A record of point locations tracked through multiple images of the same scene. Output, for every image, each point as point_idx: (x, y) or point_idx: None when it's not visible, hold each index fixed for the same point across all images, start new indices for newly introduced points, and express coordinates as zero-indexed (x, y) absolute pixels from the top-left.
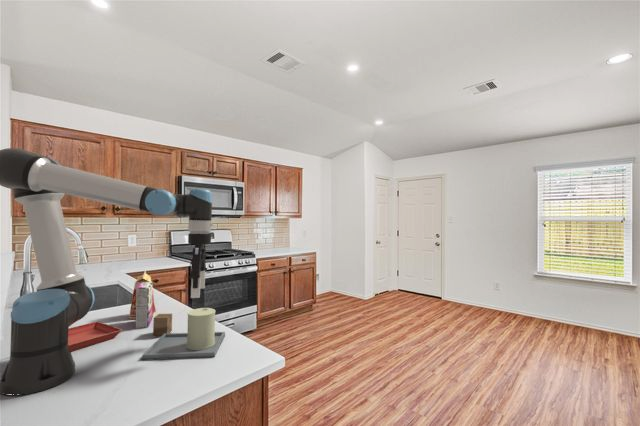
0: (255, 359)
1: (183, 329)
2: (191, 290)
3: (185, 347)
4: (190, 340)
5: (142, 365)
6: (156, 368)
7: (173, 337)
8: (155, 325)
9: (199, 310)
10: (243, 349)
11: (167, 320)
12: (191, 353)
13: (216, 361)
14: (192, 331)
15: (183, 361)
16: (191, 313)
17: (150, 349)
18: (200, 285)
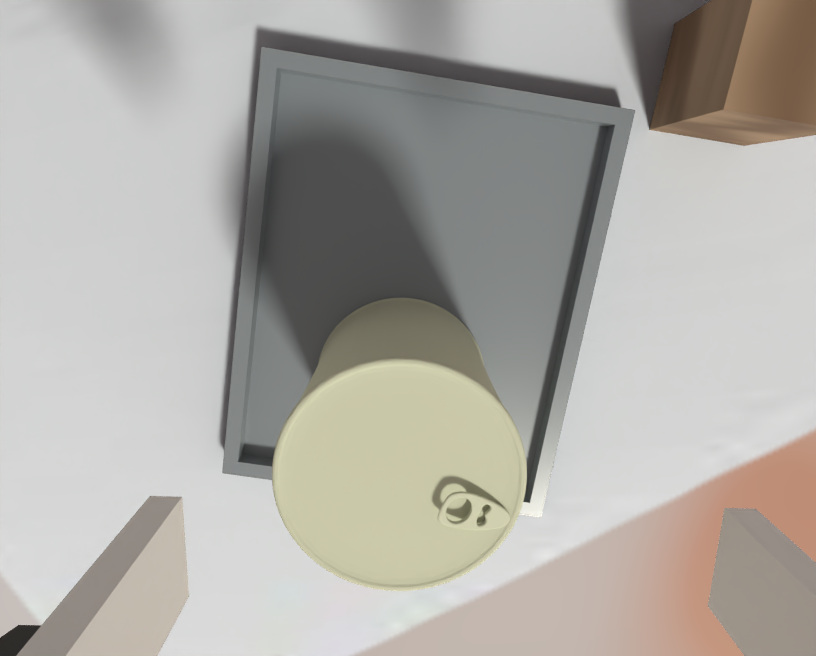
0: (167, 646)
1: (753, 226)
2: (92, 569)
3: (378, 292)
4: (334, 338)
5: (191, 78)
6: (139, 171)
7: (581, 185)
8: (715, 14)
9: (453, 455)
10: (301, 597)
11: (710, 113)
12: (234, 348)
13: (175, 472)
14: (316, 369)
15: (205, 304)
16: (365, 394)
17: (345, 78)
18: (746, 588)
